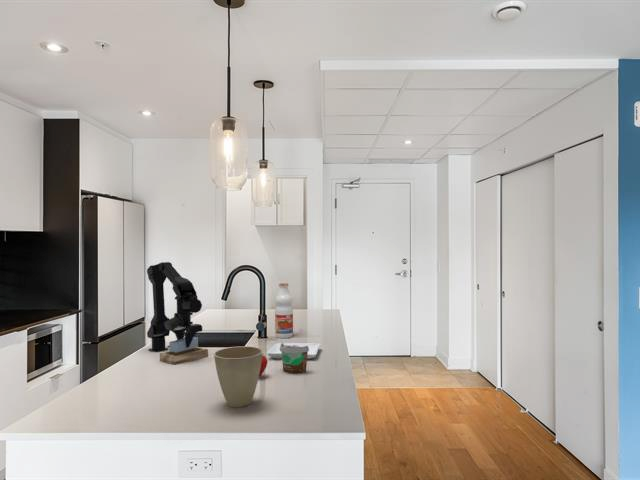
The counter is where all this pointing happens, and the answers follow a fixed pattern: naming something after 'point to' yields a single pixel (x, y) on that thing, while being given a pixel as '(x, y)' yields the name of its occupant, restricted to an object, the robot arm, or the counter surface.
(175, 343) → the fuselage block
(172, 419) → the counter surface
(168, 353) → the wooden tray
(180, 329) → the robot arm
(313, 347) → the salad plate
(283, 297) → the fruit juice
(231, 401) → the plant pot
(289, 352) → the food container
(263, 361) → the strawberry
